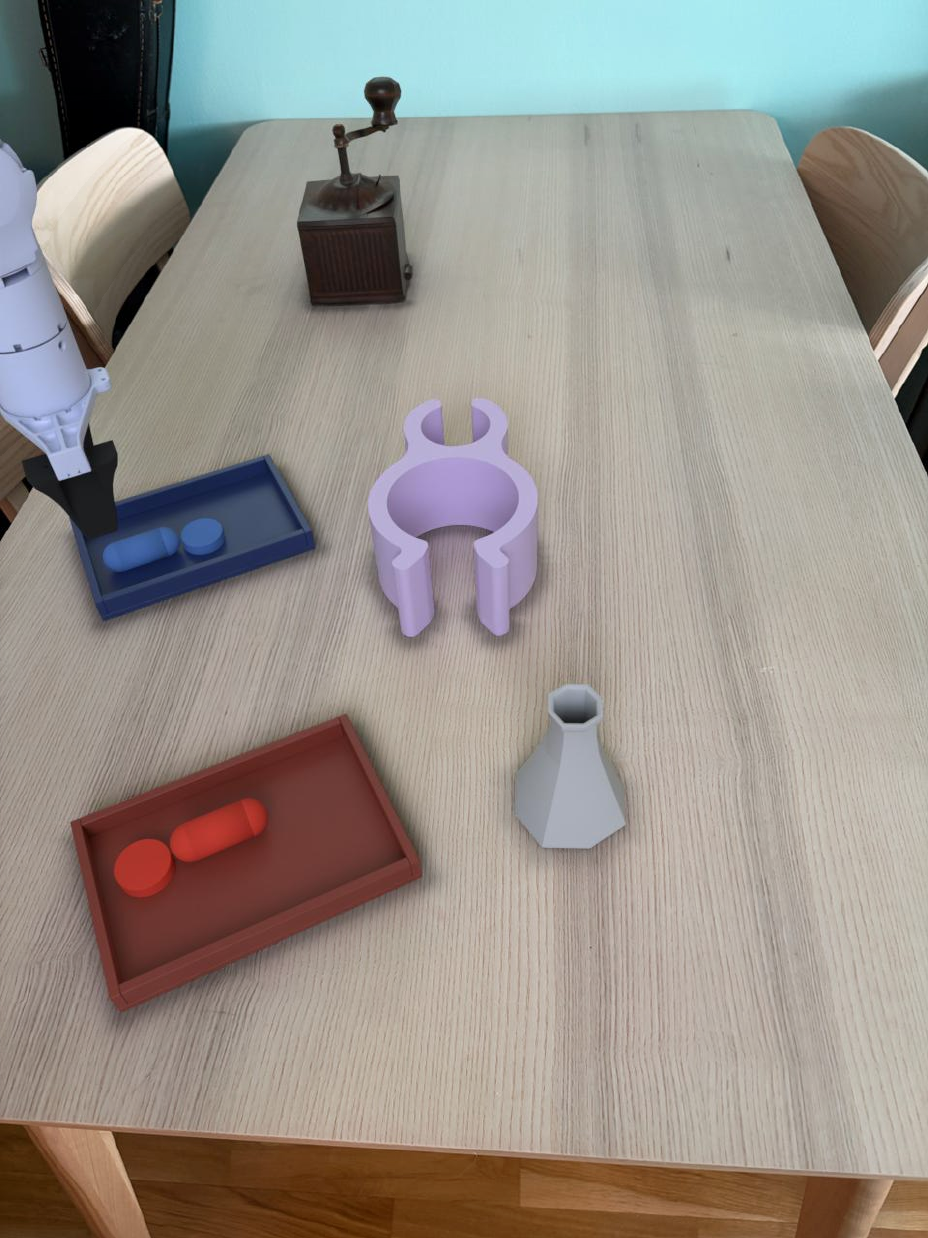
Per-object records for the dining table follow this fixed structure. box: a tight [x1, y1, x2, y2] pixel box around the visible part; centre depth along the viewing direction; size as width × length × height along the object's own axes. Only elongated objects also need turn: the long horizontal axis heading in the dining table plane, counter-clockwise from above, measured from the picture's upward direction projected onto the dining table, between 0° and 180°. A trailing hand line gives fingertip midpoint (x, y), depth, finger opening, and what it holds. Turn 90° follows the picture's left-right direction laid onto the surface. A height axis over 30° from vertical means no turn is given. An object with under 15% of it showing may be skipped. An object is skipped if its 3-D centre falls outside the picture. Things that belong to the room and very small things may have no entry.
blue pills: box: [103, 518, 225, 572], centre depth 77 cm, size 10×3×2 cm, turn 115°
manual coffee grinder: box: [296, 76, 414, 307], centre depth 103 cm, size 16×11×18 cm
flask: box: [513, 683, 627, 850], centre depth 58 cm, size 7×7×10 cm
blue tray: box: [68, 453, 317, 622], centre depth 79 cm, size 17×11×2 cm, turn 115°
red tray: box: [70, 713, 423, 1013], centre depth 59 cm, size 18×12×2 cm
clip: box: [367, 397, 539, 638], centre depth 76 cm, size 20×12×7 cm, turn 179°
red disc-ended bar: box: [114, 798, 268, 897], centre depth 59 cm, size 10×3×2 cm, turn 115°
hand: (92, 500), depth 69 cm, fingers open, 7 cm apart
